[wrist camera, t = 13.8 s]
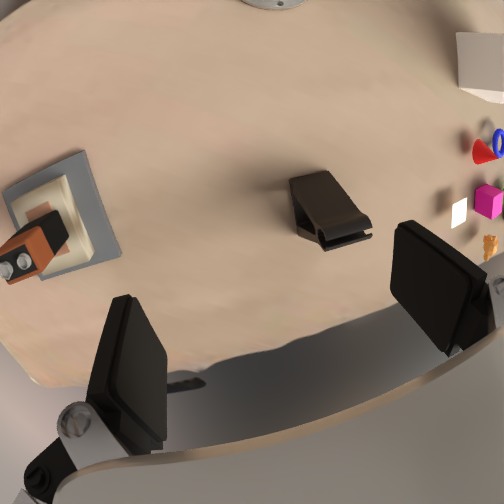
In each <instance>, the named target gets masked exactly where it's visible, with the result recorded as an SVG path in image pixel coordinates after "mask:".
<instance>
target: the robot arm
mask: <svg viewBox="0 0 504 504" xmlns="http://www.w3.org/2000/svg"><path fill="white" fill-rule="evenodd" d="M242 1H243V2H245V3H247V4H249V5H252V6H254V7H258V8H262V9H267V10H286V9H291V8H294V7H297V6H299V5H301V4H303V3H304V2H305V1H307V0H242ZM277 4H279V5H280V6H279V5H277ZM486 277H487V273H486V272H484V271H483V270H482V269H481V268H479V267H478V266H477V265H476V264H474V263H473V262H472V261H470V260H469V259H468V258H467V257H465V256H464V255H463V254H461V253H460V252H459V251H457V250H456V249H455V248H453V247H452V246H450V245H449V244H448V243H446V242H445V241H443V240H442V239H441V238H439V237H438V236H436V235H435V234H433V233H432V232H431V231H429V230H428V229H426V228H425V227H423V226H422V225H420V224H419V223H417V222H416V221H414V220H409V221H405V222H402V223H399V224H398V226H397V228H396V229H395V233H394V249H393V262H392V272H391V282H390V290H391V293H392V295H393V296H394V297H395V298H396V300H397V301H398V302H399V303H400V304H401V305H402V306H403V308H404V309H405V310H406V311H407V312H408V313H409V314H410V316H411V317H412V318H413V319H414V320H415V321H416V323H417V324H418V325H419V326H420V327H421V329H422V330H423V331H424V332H425V333H426V334H427V336H428V337H429V338H430V339H431V341H432V342H433V343H434V344H435V345H436V347H437V348H438V349H439V350H440V351H441V352H444V353H445V354H446V355H447V356H448V357H450V356H452V355H454V354H455V353H457V352H458V351H459V349H460V348H461V349H462V350H463V352H461V353H459V354H458V355H456V356H455V357H453V358H451V359H450V360H448V361H446V362H445V363H443V364H441V365H439V366H438V367H436V368H434V369H432V370H431V371H429V372H427V373H425V374H423V375H421V376H419V377H417V378H416V379H414V380H412V381H410V382H408V383H406V384H404V385H402V386H400V387H398V388H396V389H394V390H392V391H389V392H387V393H385V394H383V395H380V396H378V397H376V398H374V399H371V400H369V401H367V402H364V403H362V404H359V405H357V406H355V407H352V408H349V409H347V410H344V411H342V412H339V413H336V414H334V415H331V416H328V417H325V418H322V419H319V420H316V421H313V422H310V423H307V424H304V425H300V426H297V427H294V428H290V429H287V430H283V431H280V432H276V433H272V434H268V435H265V436H260V437H256V438H252V439H247V440H242V441H238V442H233V443H227V444H222V445H217V446H210V447H205V448H198V449H192V450H184V451H177V452H167V453H157V454H151V450H162V449H163V441H166V439H167V354H166V351H165V349H164V347H163V346H162V344H161V342H160V340H159V339H158V337H157V335H156V333H155V331H154V330H153V328H152V326H151V324H150V322H149V320H148V318H147V317H146V315H145V313H144V311H143V309H142V307H141V305H140V303H139V301H138V299H137V298H136V297H133V298H132V296H131V295H129V294H127V295H123V296H119V297H115V298H113V300H112V303H111V306H110V309H109V312H108V315H107V319H106V322H105V325H104V328H103V332H102V335H101V339H100V342H99V346H98V349H97V353H96V357H95V361H94V364H93V368H92V372H91V377H90V381H89V385H88V390H87V396H86V401H85V402H82V401H78V402H74V403H72V404H70V405H68V406H67V407H66V408H65V409H64V410H63V411H62V412H61V414H60V415H59V418H58V421H57V431H58V435H59V437H58V438H57V439H56V440H55V441H54V442H53V443H52V444H50V445H49V446H48V447H47V448H46V449H45V450H44V451H43V452H42V453H40V454H39V455H38V456H37V457H36V458H35V459H34V460H33V461H32V462H31V463H30V464H29V465H28V466H27V468H26V470H25V473H24V485H25V487H26V490H24V489H21V490H20V492H19V494H18V496H17V497H16V499H15V501H14V503H13V504H504V276H503V275H498V276H494V277H492V278H491V279H490V281H489V283H488V284H487V283H485V280H486Z"/></svg>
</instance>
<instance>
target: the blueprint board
mask: <svg viewBox="0 0 504 504" xmlns="http://www.w3.org/2000/svg"><path fill="white" fill-rule="evenodd" d="M63 175H66V178H67V181H68V184H69V187H70V190H71V193H72V196H73V198H74V201H75V204H76V206H77V209H78V212H79V214H80V217H81V219H82V222H83V224H84V227H85V229H86V231H87V234H88V236H89V238H90V241H91V243H92V245H93V248H94V250H95V252H94V254H93V255H92V257H91V259H90V261H89V262H85V263H82V264H79V265H76V266H72V267H69V268H66V269H63V270H60V271H57V272H54V273H51V274H47V275H44V276H43V274H42V273H39V274H38V276H39V277H40V279H41V281H43V280H46V279H49V278H52V277H55V276H59V275H62V274H65V273H68V272H71V271H75V270H78V269H81V268H85V267H88V266H91V265H94V264H98V263H101V262H105V261H108V260H111V259H115V258H118V257H121V254H122V252H121V249H120V247H119V245H118V242H117V240H116V237H115V235H114V232H113V230H112V227H111V225H110V222H109V220H108V217H107V214H106V212H105V209H104V206H103V204H102V201H101V198H100V195H99V192H98V189H97V186H96V184H95V181H94V178H93V174H92V171H91V168H90V165H89V162H88V159H87V155H86V152H85V150H84V151H82V152H80V153H77V154H75V155H73V156H71V157H68V158H66V159H64V160H62V161H60V162H58V163H56V164H54V165H51V166H49V167H47V168H45V169H43V170H41V171H39V172H37V173H36V174H34V175H32V176H30V177H28V178H26V179H24V180H22V181H21V182H19V183H17V184H15V185H14V186H12V187H10V188H8V189H7V190H5V191H3V192H2V194H3V197H4V200H5V203H6V205H7V208H8V211H9V213H10V216H11V218H12V221H13V223H14V226H15V228H16V230H17V231H19V230H20V226H19V224H18V222H17V219H16V217H15V214H14V212H13V209H12V206H11V204H10V203H11V202H13V201H14V200H16V199H17V198H19V197H20V196H22V195H24V194H26V193H28V192H30V191H31V190H33V189H35V188H37V187H40V186H42V185H44V184H46V183H48V182H50V181H52V180H54V179H56V178H58V177H61V176H63Z"/></svg>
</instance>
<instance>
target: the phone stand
mask: <svg viewBox="0 0 504 504" xmlns="http://www.w3.org/2000/svg"><path fill="white" fill-rule="evenodd" d="M289 182H290V188H291V194H292V200H293V206H294V213H295V219H296V226H297V232H298V236H300V237H302V238H305V239H308V240H310V241H313V242H316V243H318V244H319V245H320V246H321V248H322V249H323V250H324V251H325V252H326V251H329V250H333V249H336V248H340V247H343V246H346V245H350V244H353V243H356V242H360V241H363V240H366V239H370V238H371V237H372V233H370V234H367V235H366V234H365V233H364V231H363V230H367V229H370V228H373V227H372V224H371V221H370V219H369V218H368V216H367V215H365V214H363V213H362V212H360V210H359V209H358V208H357V207H356V205H355V204H354V203H353V201H352V200H351V199H350V197H349V196H348V195H347V193H346V192H345V191H344V190H343V188H342V187H341V186H340V184H339V183H338V182H337V181H336V179H335V178H334V177H333V176H332V174H331V173H330V172H329V171H325V172H320V173H316V174H311V175H306V176H302V177H297V178H293V179H289Z"/></svg>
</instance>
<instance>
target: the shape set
mask: <svg viewBox="0 0 504 504" xmlns="http://www.w3.org/2000/svg"><path fill="white" fill-rule="evenodd" d="M499 135H501V139H502V145H501V149H500V151H498V138H499ZM492 146H493V151H494V153H493V152H492V151H491V150H490V149H489V148H488V147H487V146H486V145H485V144H484V143H483V142H482V141H481V140H480V139H477V140H476V141H475V143H474V145H473V151H472V156H473V160H474V163H475V164H477V165H478V164H482V163H485V162H488V161H492V160H495V159H499V158H501V157H502V156H503V155H504V131H503V130H502V129H497V130H496V131H495V132H494V135H493V141H492ZM502 204H503V205H504V189H503V190H499V189H497V188H495V187H492V186H490V185H488V184H486V185H483V186H482V187H480V188H478V189H476V195H475V211H476V212H477V213H479V214H481V215H483V216H485V217H487V218H489V219H491V220H492V219H493V218H495V217H496V216H497V215H499V214H500V213H501V212H502ZM466 208H467V197H466V198H464V199H463V200H461V201H459V202H457V203H455V204H453V210H452V228H454V227H456V226H457V225H459V224H461V223H462V222H464V221H466ZM483 242H484V251H485V254H484V260H485V261H488V260H489V257H490V256H492V255H494V254H495V253H496V250H497V249H498V246H497V244H498V243H499V242H498V240H497V237H496V236H491V235H488V236H484V240H483Z"/></svg>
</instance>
